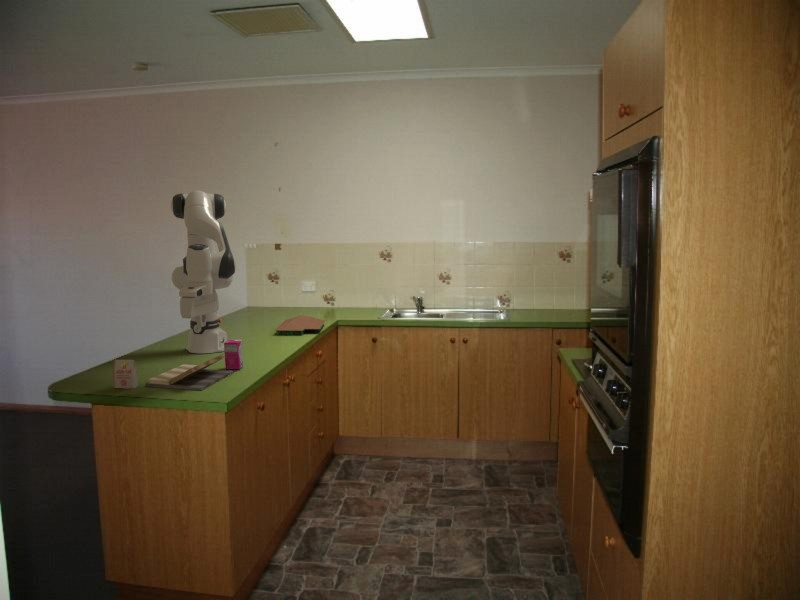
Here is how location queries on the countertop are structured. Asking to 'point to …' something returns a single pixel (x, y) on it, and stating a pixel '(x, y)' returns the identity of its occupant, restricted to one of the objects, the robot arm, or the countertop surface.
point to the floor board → (188, 378)
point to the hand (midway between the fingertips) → (201, 326)
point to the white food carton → (125, 374)
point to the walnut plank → (196, 369)
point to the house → (300, 324)
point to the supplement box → (233, 354)
